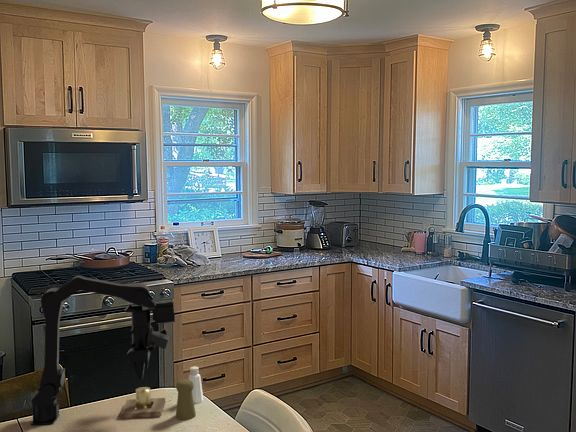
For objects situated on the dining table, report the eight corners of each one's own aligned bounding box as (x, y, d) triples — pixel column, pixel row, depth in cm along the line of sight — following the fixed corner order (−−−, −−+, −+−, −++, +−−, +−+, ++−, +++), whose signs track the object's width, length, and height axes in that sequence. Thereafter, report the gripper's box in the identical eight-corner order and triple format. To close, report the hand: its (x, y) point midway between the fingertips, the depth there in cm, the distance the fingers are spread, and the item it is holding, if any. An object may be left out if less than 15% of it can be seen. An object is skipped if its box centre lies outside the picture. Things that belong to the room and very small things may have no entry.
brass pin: (135, 412, 177) (134, 392, 177) (137, 407, 182) (137, 387, 181) (149, 412, 178) (149, 391, 177) (151, 406, 182) (151, 386, 182)
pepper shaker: (191, 420, 171) (190, 384, 171) (172, 419, 173) (171, 383, 172) (198, 412, 177) (197, 377, 177) (180, 411, 179) (179, 376, 178)
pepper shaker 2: (183, 402, 186) (182, 368, 185) (193, 396, 191) (192, 363, 190) (196, 405, 183) (195, 371, 183) (206, 399, 188) (206, 366, 188)
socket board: (120, 418, 174) (120, 413, 174) (127, 404, 185) (127, 399, 185) (160, 416, 175) (160, 411, 175) (165, 402, 186) (165, 397, 186)
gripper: (163, 331, 170) (165, 383, 170) (171, 316, 188) (172, 363, 189) (125, 333, 169) (127, 385, 170) (136, 318, 187) (138, 365, 188)
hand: (143, 374), depth 179 cm, fingers open, 9 cm apart
